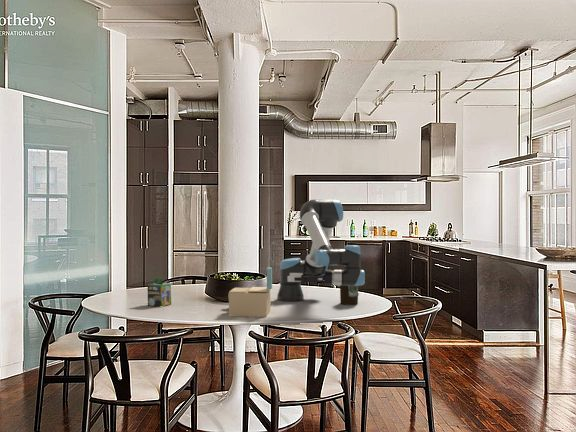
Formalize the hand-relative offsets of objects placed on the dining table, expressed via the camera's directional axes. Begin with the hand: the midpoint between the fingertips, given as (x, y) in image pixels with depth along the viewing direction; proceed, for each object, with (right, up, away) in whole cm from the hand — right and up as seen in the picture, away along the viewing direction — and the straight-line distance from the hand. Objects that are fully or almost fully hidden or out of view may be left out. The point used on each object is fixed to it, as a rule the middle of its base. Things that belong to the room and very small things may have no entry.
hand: (288, 277), depth 273 cm
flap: (-14, -6, +1) cm, 15 cm away
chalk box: (-69, -18, +27) cm, 76 cm away
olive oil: (+33, -18, +34) cm, 51 cm away
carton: (-19, -18, +2) cm, 26 cm away
